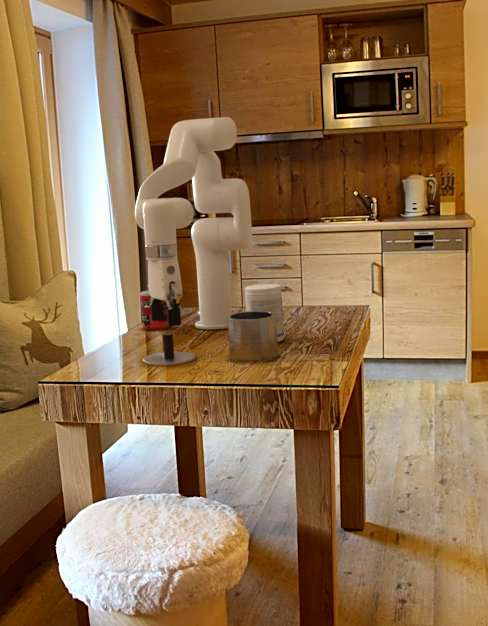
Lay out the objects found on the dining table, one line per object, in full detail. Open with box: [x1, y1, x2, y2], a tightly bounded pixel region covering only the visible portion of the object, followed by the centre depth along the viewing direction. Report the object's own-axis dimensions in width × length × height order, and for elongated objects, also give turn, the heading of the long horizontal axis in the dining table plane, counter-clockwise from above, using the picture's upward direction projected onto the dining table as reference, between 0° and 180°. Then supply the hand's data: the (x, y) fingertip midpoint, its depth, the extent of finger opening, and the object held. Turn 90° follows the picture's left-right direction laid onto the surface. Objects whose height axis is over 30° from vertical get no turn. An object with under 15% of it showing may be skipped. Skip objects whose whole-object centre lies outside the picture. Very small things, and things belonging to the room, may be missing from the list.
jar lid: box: [142, 332, 196, 367], centre depth 202 cm, size 13×13×7 cm
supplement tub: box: [244, 283, 285, 343], centre depth 218 cm, size 10×10×15 cm
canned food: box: [139, 290, 170, 332], centre depth 245 cm, size 8×8×11 cm
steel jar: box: [227, 310, 279, 362], centre depth 200 cm, size 12×12×10 cm
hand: (166, 322), depth 200 cm, fingers open, 9 cm apart
